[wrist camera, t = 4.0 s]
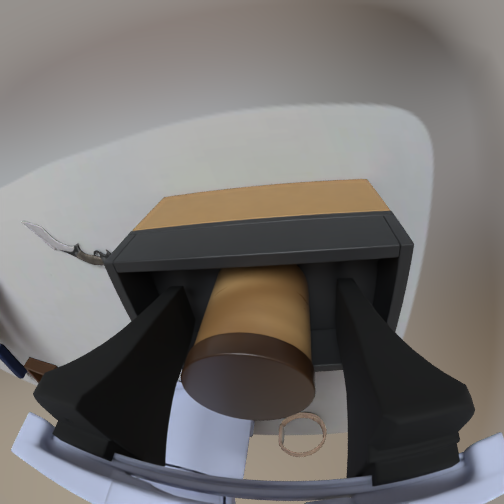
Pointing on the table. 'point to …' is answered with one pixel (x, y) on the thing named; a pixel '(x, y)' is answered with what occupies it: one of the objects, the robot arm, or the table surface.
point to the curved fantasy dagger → (71, 250)
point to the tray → (38, 368)
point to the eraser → (12, 362)
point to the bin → (270, 249)
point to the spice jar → (254, 345)
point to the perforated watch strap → (296, 416)
